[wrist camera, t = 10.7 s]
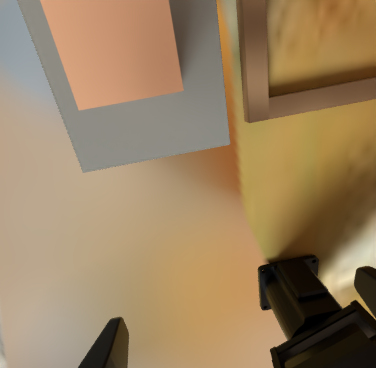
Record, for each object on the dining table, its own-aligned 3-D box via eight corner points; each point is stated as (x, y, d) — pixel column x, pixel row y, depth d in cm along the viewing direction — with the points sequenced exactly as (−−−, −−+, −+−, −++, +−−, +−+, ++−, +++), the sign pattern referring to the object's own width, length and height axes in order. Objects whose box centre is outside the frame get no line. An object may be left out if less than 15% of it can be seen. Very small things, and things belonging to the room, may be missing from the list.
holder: (423, 87, 18) (440, 86, 17) (244, 121, 18) (249, 123, 17) (466, -103, 14) (492, -120, 13) (231, -62, 13) (237, -76, 12)
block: (177, 92, 16) (183, 90, 10) (109, 105, 16) (78, 110, 10) (162, 8, 14) (160, -49, 8) (85, 22, 14) (30, -26, 8)
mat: (228, 142, 18) (230, 144, 18) (85, 170, 18) (83, 172, 17) (204, -92, 13) (206, -100, 12) (0, -56, 13) (-8, -63, 12)
